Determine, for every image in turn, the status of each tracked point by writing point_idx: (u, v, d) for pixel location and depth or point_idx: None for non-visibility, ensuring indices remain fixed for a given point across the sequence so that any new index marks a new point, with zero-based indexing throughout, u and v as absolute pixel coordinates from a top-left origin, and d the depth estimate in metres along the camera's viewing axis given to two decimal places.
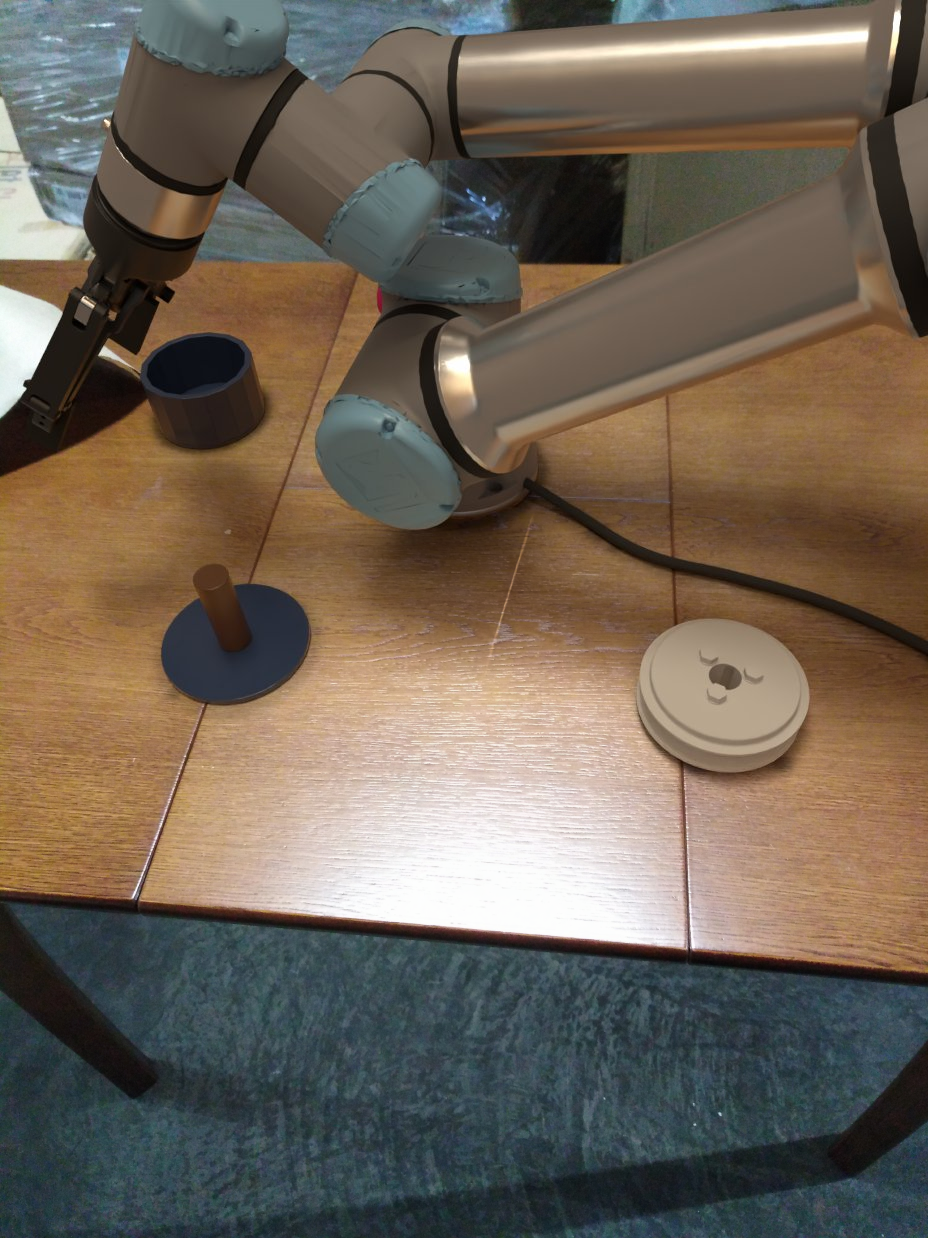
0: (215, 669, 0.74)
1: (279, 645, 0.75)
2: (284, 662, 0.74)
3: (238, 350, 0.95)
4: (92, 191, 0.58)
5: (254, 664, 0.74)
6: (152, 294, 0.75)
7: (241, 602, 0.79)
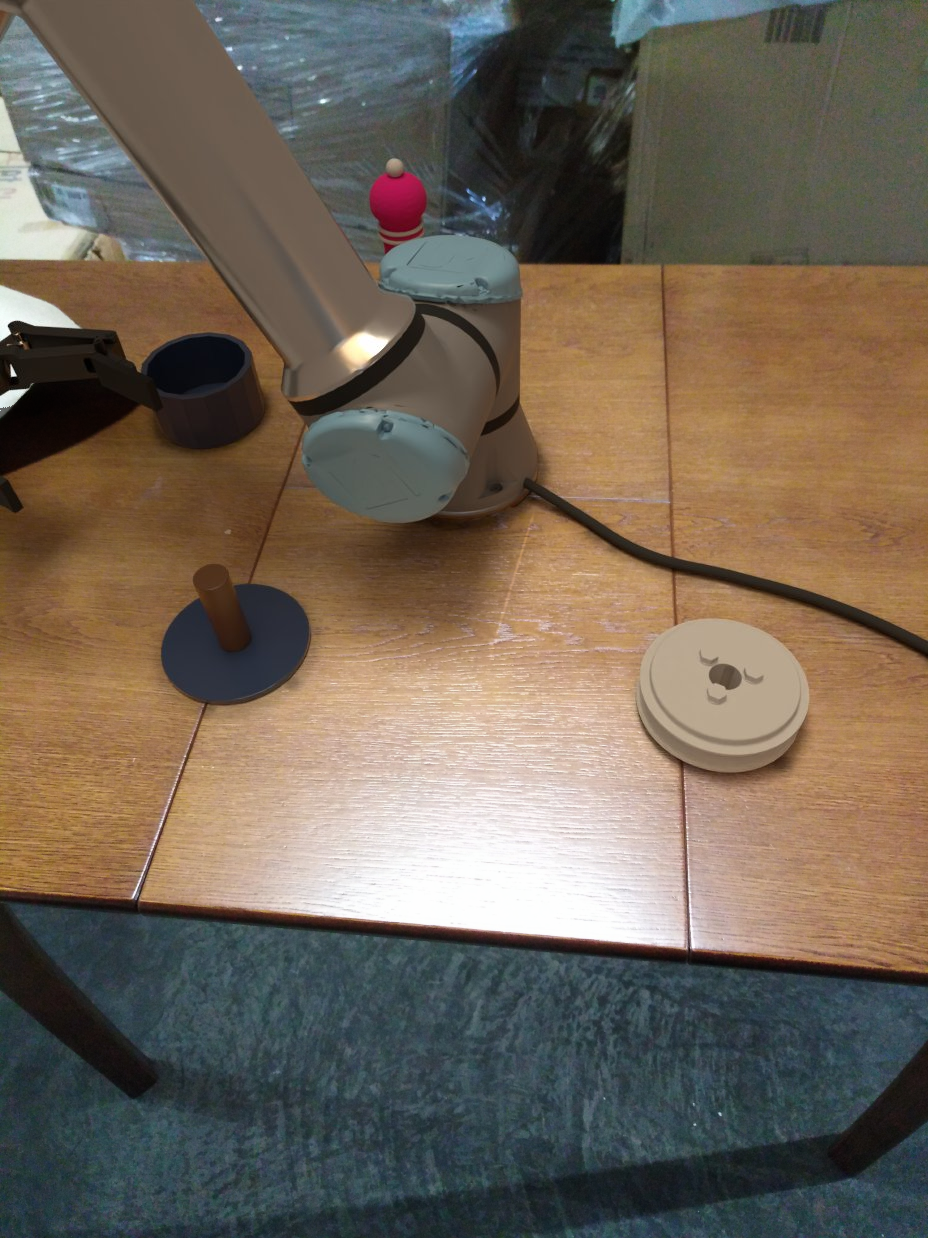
0: (215, 669, 0.74)
1: (279, 645, 0.75)
2: (284, 662, 0.74)
3: (238, 350, 0.95)
4: None
5: (254, 664, 0.74)
6: None
7: (241, 602, 0.79)
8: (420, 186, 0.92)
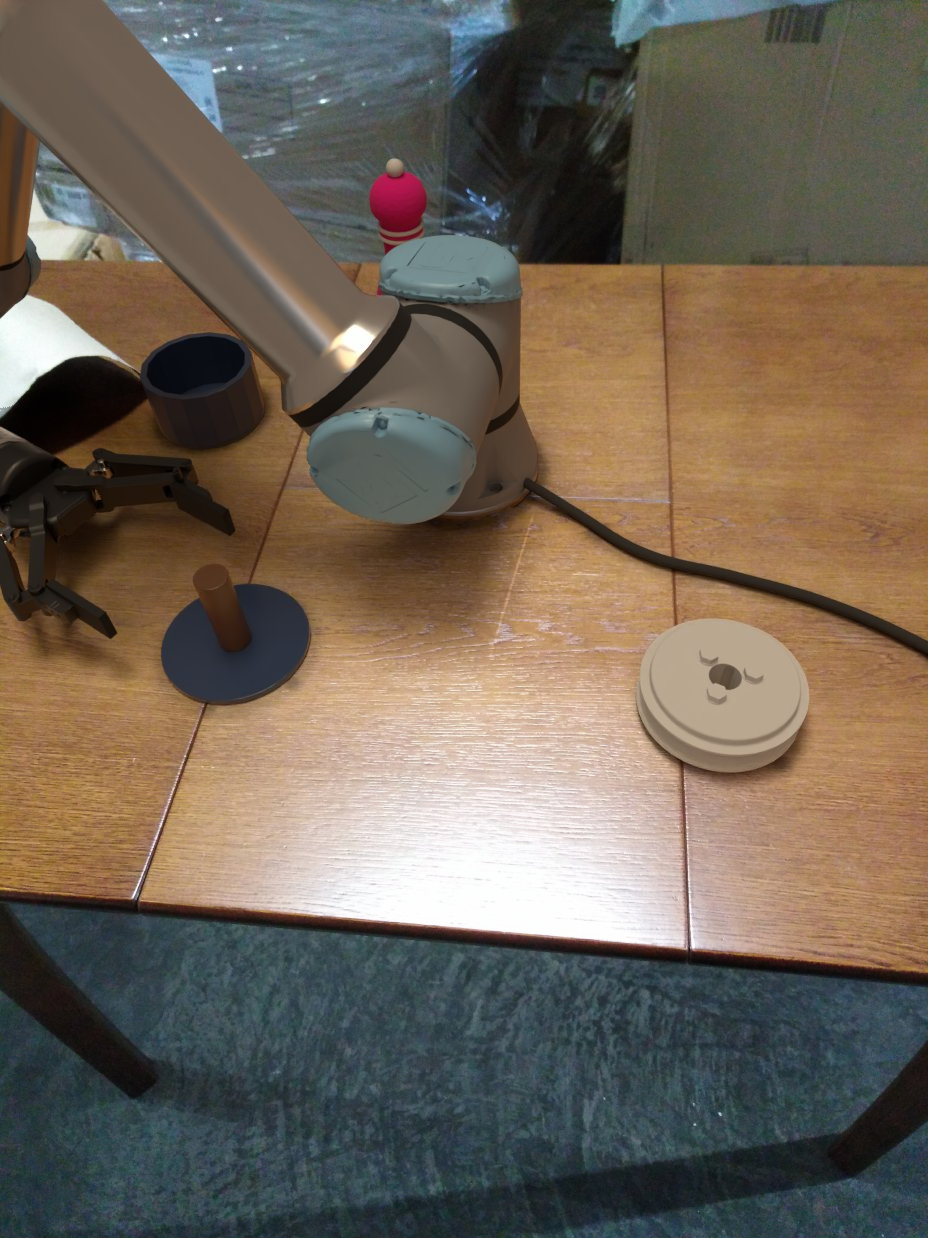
0: (215, 669, 0.74)
1: (279, 645, 0.75)
2: (284, 662, 0.74)
3: (238, 350, 0.95)
4: None
5: (254, 664, 0.74)
6: None
7: (241, 602, 0.79)
8: (420, 186, 0.92)
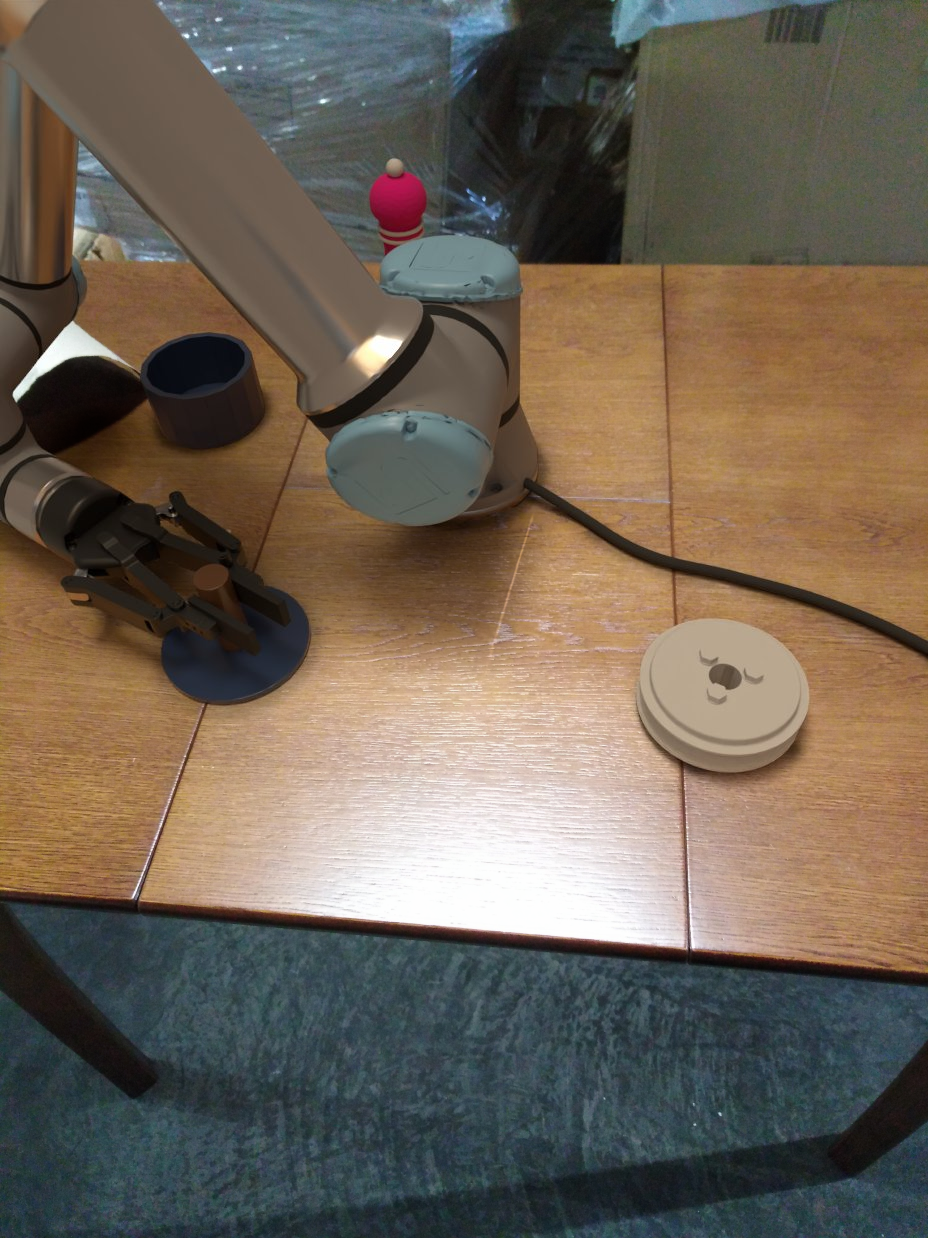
0: (215, 669, 0.74)
1: (279, 645, 0.75)
2: (284, 662, 0.74)
3: (238, 350, 0.95)
4: None
5: (254, 664, 0.74)
6: None
7: (241, 602, 0.79)
8: (420, 186, 0.92)
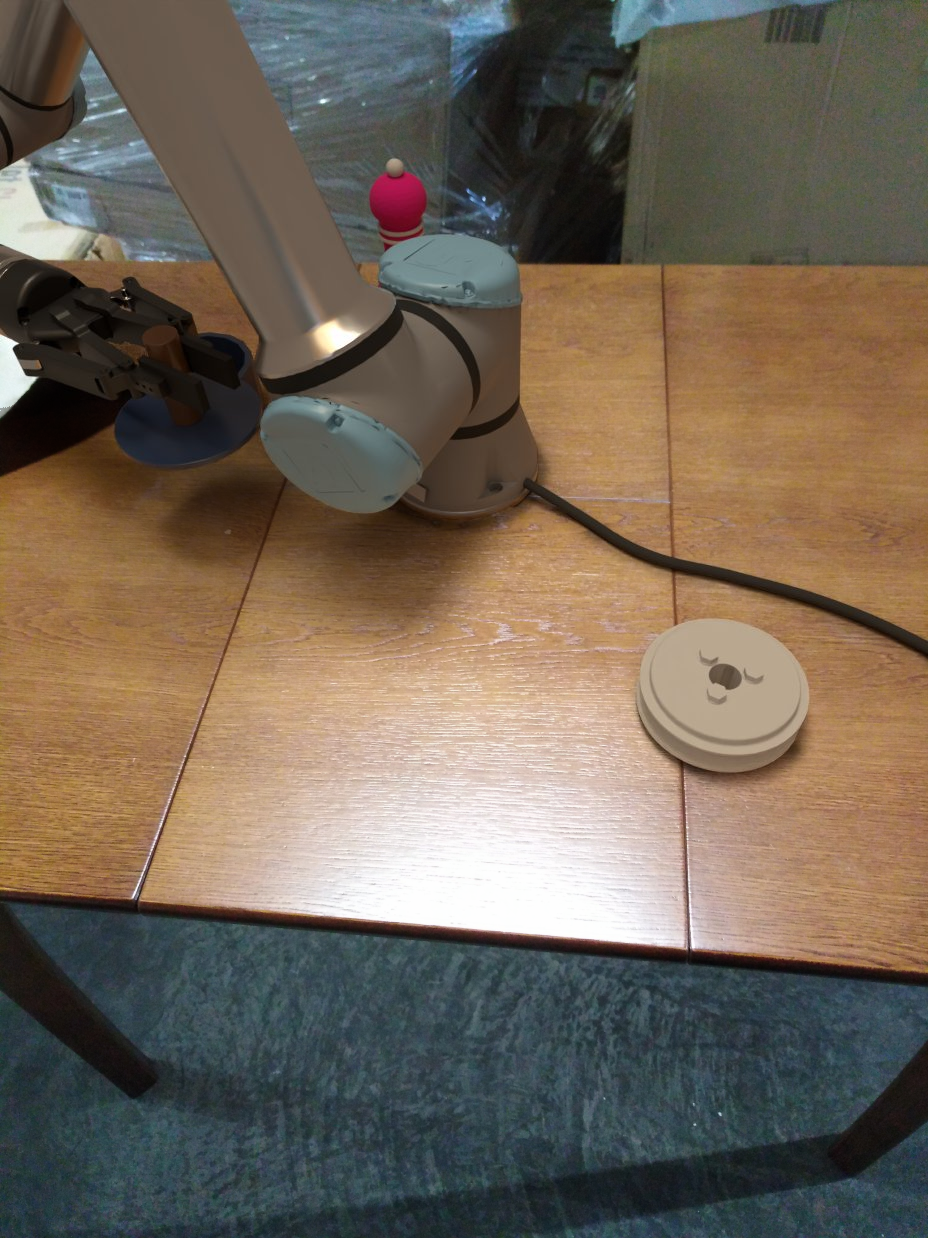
0: (167, 440, 0.75)
1: (231, 420, 0.76)
2: (236, 433, 0.75)
3: (238, 350, 0.95)
4: None
5: (206, 435, 0.75)
6: None
7: None
8: (420, 186, 0.92)
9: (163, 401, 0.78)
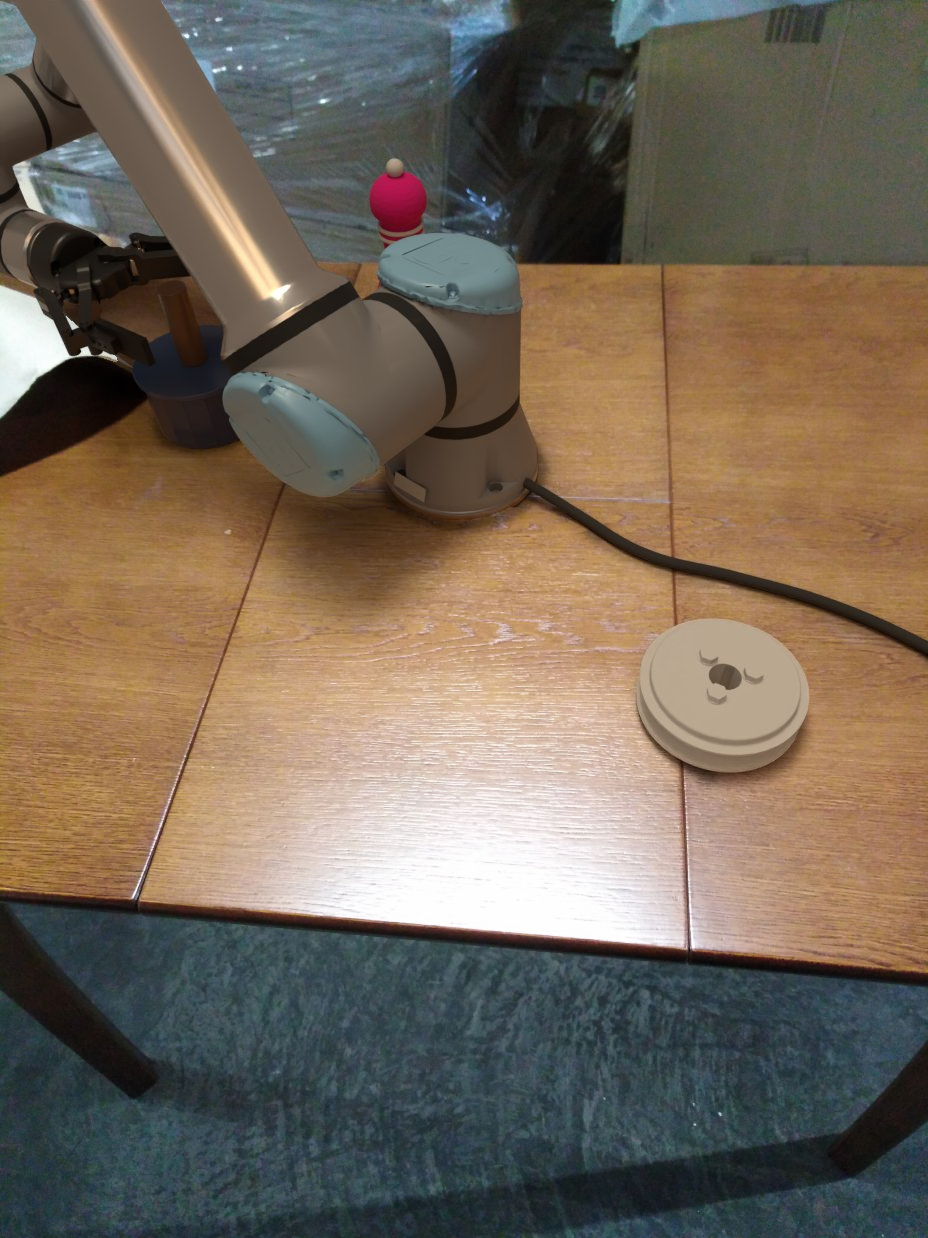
0: (176, 377, 0.90)
1: None
2: None
3: None
4: None
5: (209, 374, 0.90)
6: None
7: None
8: (420, 186, 0.92)
9: (173, 347, 0.93)
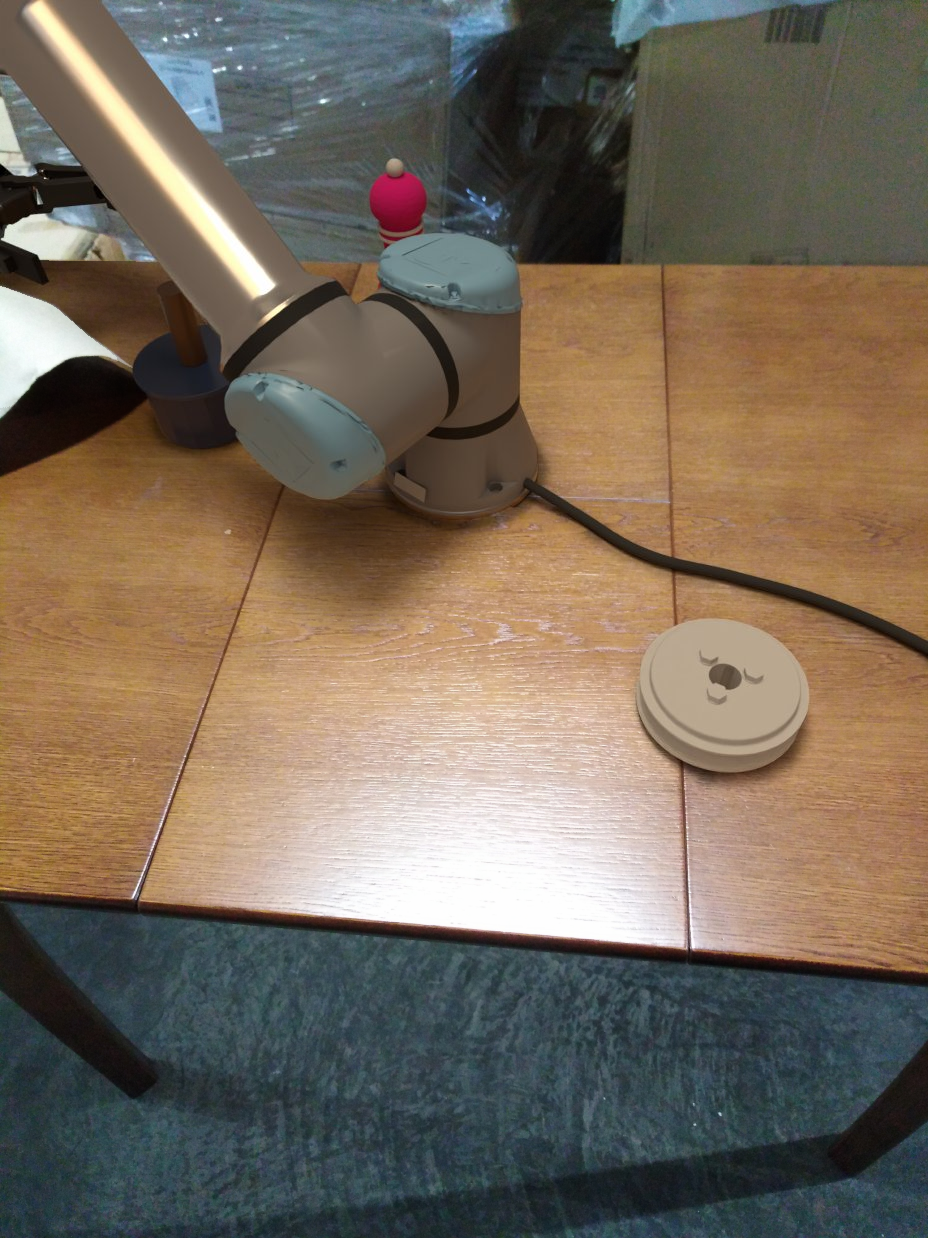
0: (176, 377, 0.90)
1: None
2: None
3: None
4: None
5: (209, 374, 0.90)
6: None
7: None
8: (420, 186, 0.92)
9: (173, 347, 0.93)
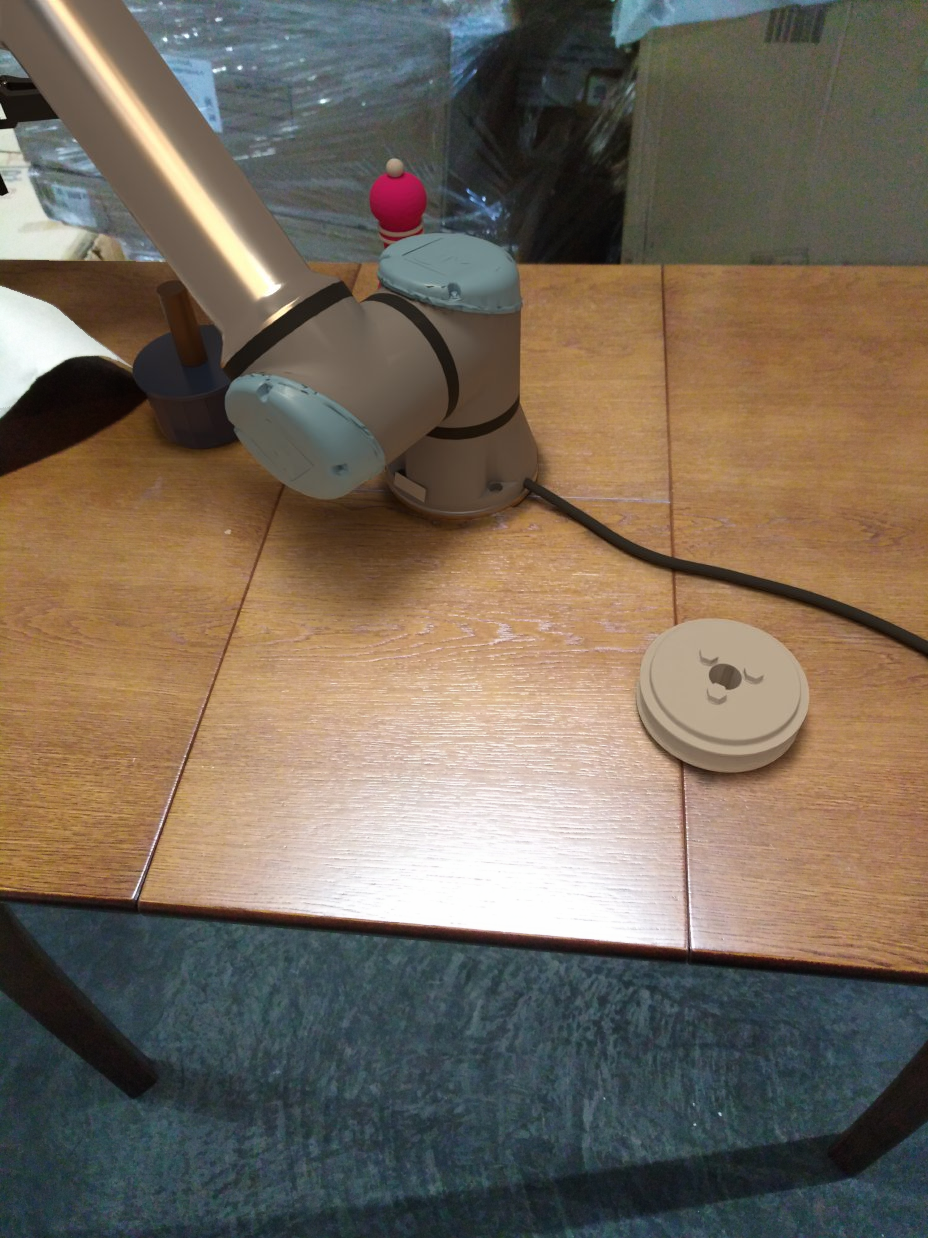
0: (176, 377, 0.90)
1: None
2: None
3: None
4: None
5: (209, 374, 0.90)
6: None
7: None
8: (420, 186, 0.92)
9: (173, 347, 0.93)
